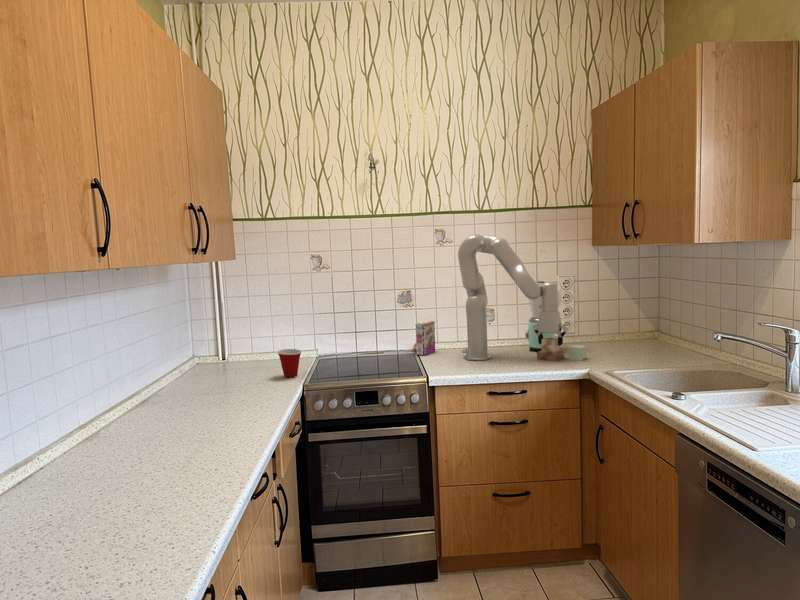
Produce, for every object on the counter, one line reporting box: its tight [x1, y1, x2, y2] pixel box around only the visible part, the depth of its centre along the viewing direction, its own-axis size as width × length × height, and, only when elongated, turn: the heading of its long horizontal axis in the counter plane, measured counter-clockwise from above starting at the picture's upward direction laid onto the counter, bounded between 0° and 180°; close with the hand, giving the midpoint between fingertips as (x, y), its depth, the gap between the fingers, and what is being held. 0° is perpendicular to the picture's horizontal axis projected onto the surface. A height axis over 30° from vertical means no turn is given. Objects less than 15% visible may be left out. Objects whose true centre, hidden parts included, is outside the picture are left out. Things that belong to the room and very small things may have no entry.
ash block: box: [542, 337, 560, 353], centre depth 282 cm, size 6×6×6 cm
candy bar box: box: [415, 320, 436, 356], centre depth 307 cm, size 11×5×16 cm, turn 144°
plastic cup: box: [277, 348, 303, 378], centre depth 269 cm, size 11×11×12 cm
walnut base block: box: [536, 349, 565, 362], centre depth 282 cm, size 10×10×4 cm
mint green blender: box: [525, 280, 562, 352], centre depth 301 cm, size 19×13×35 cm
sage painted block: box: [567, 344, 587, 362], centre depth 279 cm, size 6×6×6 cm
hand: (550, 344), depth 282 cm, fingers open, 9 cm apart
